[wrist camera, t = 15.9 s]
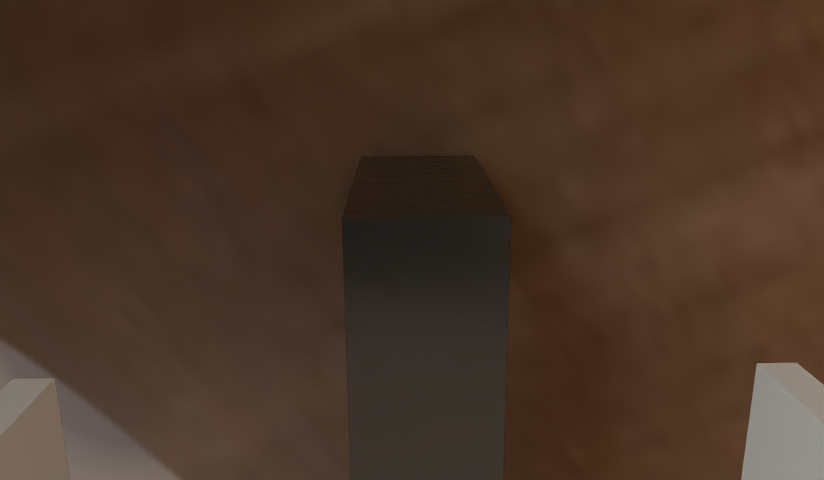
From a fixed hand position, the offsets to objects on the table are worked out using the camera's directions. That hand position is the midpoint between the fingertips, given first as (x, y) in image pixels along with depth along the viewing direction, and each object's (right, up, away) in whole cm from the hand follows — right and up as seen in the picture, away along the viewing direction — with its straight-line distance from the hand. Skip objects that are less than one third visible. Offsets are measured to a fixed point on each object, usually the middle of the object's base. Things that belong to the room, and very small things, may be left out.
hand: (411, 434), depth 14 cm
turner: (0, -4, +9) cm, 9 cm away
